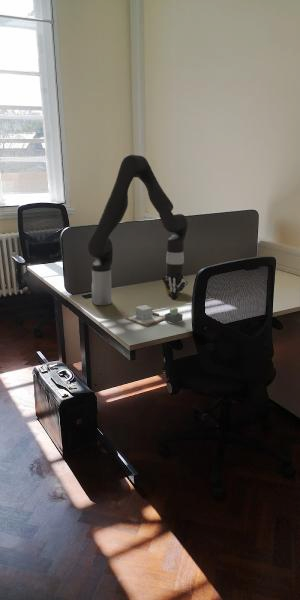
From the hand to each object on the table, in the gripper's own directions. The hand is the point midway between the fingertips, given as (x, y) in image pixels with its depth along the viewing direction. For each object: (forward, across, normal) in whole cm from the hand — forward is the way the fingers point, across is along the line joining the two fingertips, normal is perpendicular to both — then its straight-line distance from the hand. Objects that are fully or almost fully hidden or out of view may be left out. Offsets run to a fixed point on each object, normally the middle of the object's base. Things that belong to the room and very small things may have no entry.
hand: (174, 299), depth 191 cm
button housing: (+10, 0, 0) cm, 10 cm away
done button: (+8, 0, 0) cm, 8 cm away
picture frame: (+10, -11, -7) cm, 16 cm away
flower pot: (+10, -25, +30) cm, 40 cm away
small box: (+9, -11, -8) cm, 17 cm away
